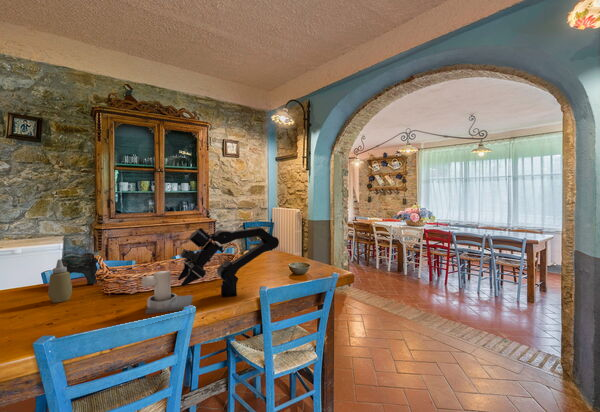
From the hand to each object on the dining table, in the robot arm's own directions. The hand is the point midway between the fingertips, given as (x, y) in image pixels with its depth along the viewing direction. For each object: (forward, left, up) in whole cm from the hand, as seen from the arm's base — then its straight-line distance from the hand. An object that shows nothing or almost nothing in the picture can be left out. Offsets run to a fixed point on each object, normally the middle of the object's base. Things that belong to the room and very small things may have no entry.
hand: (180, 282), depth 118 cm
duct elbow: (+8, +3, -8) cm, 12 cm away
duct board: (+4, +1, -9) cm, 10 cm away
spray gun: (+54, -42, -9) cm, 69 cm away
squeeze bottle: (+51, -18, -9) cm, 55 cm away
